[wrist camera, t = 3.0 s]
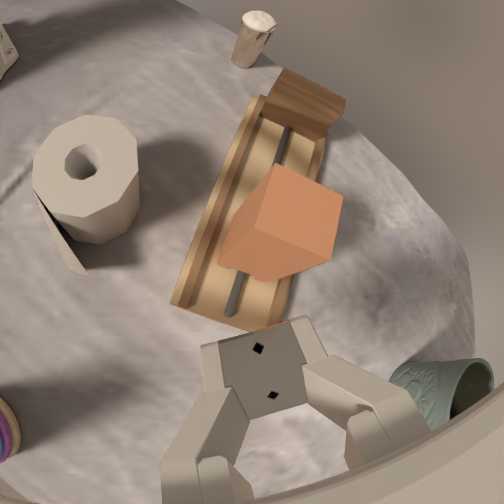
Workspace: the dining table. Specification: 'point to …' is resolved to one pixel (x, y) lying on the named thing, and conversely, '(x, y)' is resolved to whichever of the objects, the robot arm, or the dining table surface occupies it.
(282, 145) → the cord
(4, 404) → the stacking toy
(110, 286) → the dining table surface
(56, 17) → the dining table surface
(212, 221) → the channel
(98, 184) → the toilet tissue
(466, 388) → the green cup
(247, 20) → the milkshake
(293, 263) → the panel
